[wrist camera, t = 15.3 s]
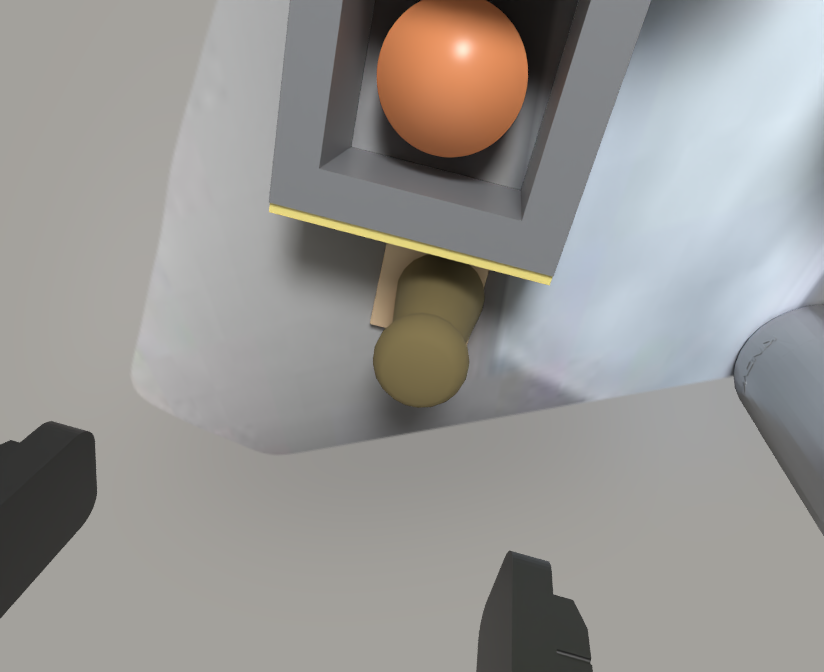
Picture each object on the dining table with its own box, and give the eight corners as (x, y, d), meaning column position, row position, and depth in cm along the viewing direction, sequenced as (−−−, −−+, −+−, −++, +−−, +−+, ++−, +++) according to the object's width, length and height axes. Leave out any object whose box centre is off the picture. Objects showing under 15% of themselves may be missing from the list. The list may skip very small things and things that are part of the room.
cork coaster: (493, 254, 40) (492, 257, 39) (466, 345, 43) (465, 349, 42) (390, 228, 40) (389, 230, 39) (371, 320, 43) (369, 323, 43)
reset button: (546, 15, 32) (548, 13, 30) (504, 162, 36) (503, 172, 34) (402, -20, 33) (392, -25, 30) (375, 130, 36) (364, 137, 34)
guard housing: (645, -52, 31) (676, -73, 25) (544, 246, 39) (549, 286, 33) (347, -123, 32) (306, -161, 26) (306, 184, 39) (267, 212, 33)
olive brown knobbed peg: (482, 338, 42) (472, 429, 32) (397, 332, 43) (361, 420, 33) (486, 254, 39) (477, 327, 29) (395, 251, 40) (356, 320, 30)
